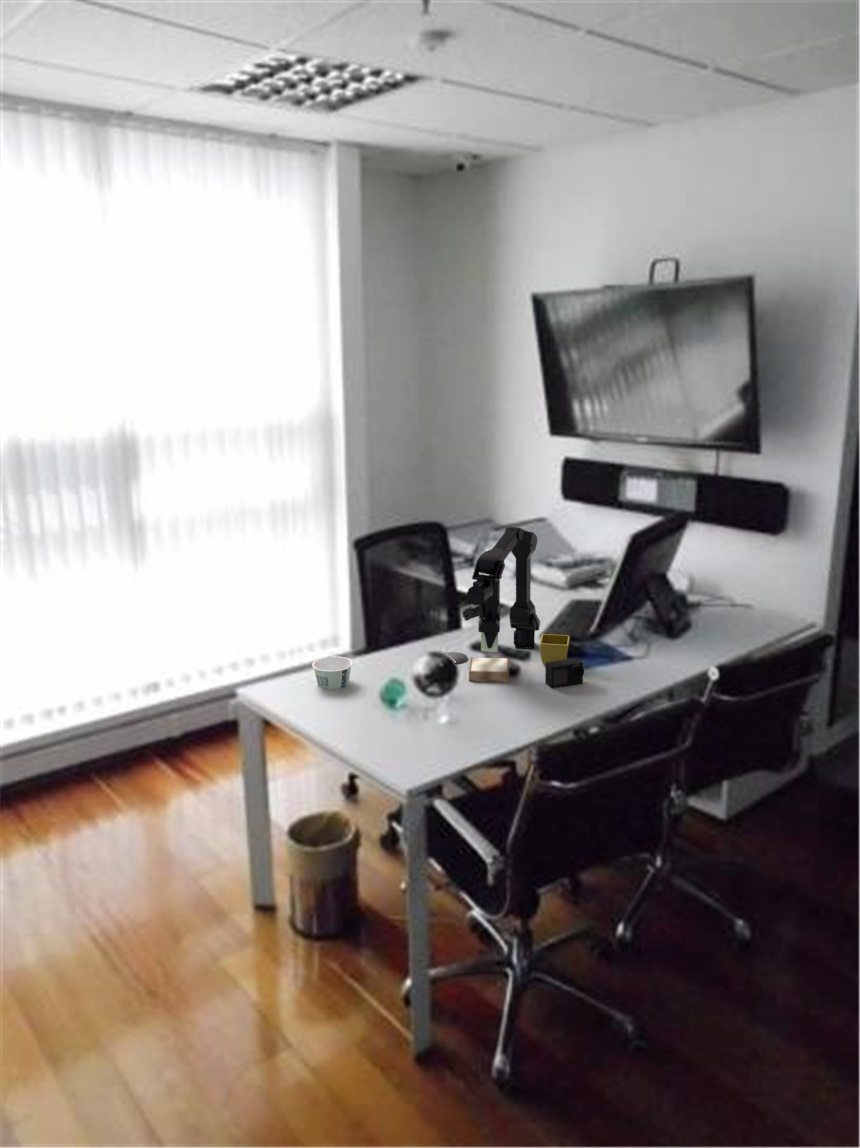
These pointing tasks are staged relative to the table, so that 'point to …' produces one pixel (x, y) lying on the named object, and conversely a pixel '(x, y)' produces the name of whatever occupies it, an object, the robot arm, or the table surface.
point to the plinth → (489, 669)
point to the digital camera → (564, 673)
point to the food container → (332, 672)
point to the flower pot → (553, 647)
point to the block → (484, 644)
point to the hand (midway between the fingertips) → (489, 644)
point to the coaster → (458, 657)
